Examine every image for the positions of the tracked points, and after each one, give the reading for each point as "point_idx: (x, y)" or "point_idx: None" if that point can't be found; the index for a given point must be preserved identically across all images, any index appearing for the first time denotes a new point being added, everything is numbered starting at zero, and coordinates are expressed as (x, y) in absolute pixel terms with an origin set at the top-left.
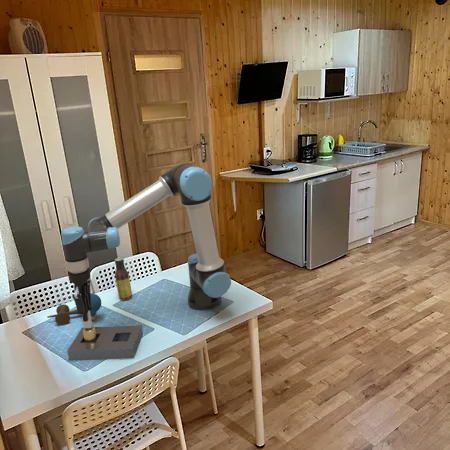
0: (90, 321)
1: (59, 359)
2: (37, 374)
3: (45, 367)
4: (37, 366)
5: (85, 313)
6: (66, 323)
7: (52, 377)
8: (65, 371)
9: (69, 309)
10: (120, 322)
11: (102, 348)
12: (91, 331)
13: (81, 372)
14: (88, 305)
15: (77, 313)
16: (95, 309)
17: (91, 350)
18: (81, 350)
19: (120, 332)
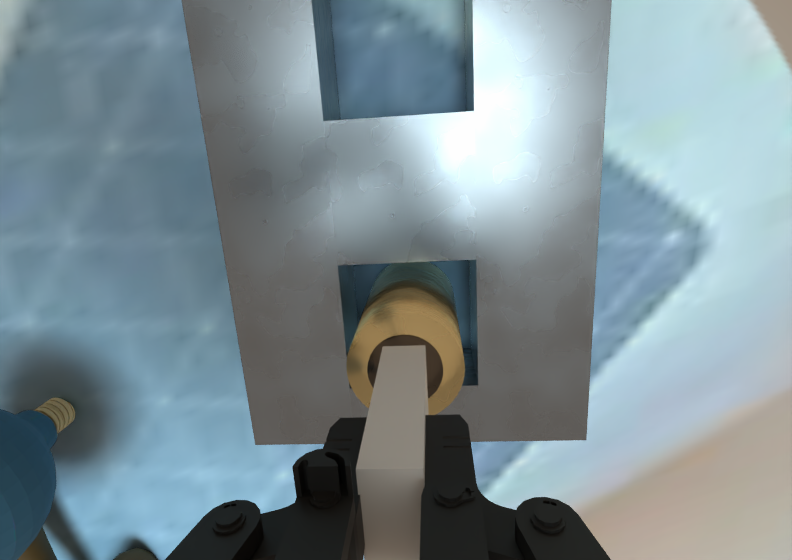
0: (411, 380)
1: (546, 455)
2: (691, 518)
3: (624, 502)
4: (607, 547)
5: (560, 509)
6: (149, 556)
7: (740, 426)
8: (687, 372)
9: None
10: (64, 194)
11: (582, 161)
12: (445, 327)
13: (719, 262)
14: (339, 557)
15: (41, 537)
16: (12, 431)
17: (594, 253)
18: (591, 335)
19: (312, 74)
